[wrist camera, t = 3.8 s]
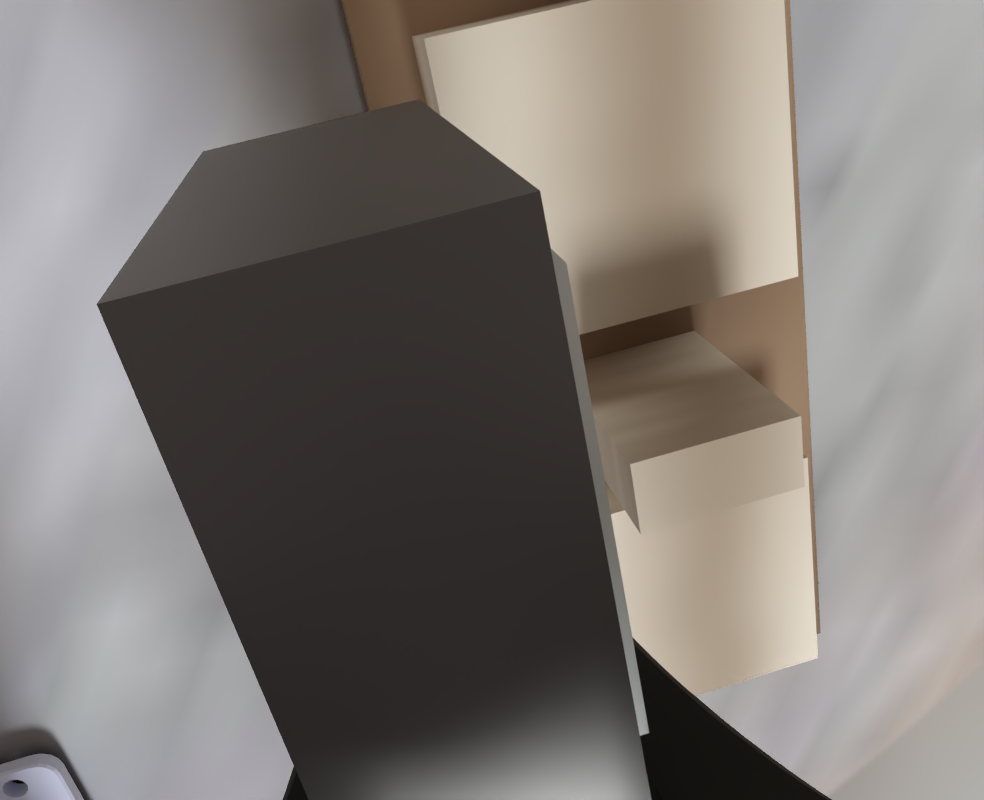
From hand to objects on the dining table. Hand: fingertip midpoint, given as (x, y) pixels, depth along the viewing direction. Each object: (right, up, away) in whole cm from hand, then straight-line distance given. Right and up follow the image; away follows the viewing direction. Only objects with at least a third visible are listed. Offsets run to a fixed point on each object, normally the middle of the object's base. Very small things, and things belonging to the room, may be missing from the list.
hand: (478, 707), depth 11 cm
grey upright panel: (0, +1, +2) cm, 2 cm away
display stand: (+3, +5, +8) cm, 10 cm away
